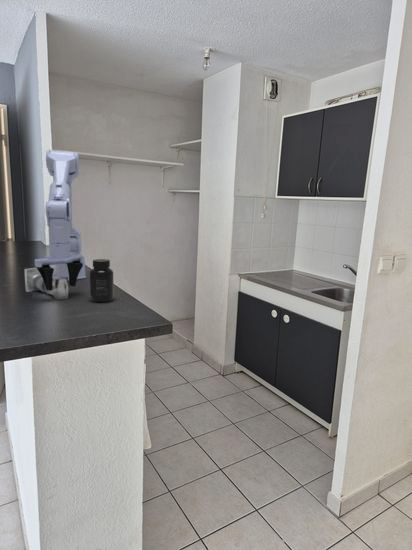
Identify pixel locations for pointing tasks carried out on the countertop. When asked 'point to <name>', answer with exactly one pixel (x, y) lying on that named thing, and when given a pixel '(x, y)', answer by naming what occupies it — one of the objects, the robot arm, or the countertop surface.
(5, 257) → the countertop surface
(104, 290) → the supplement bottle
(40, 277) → the duct stub
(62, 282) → the elbow
